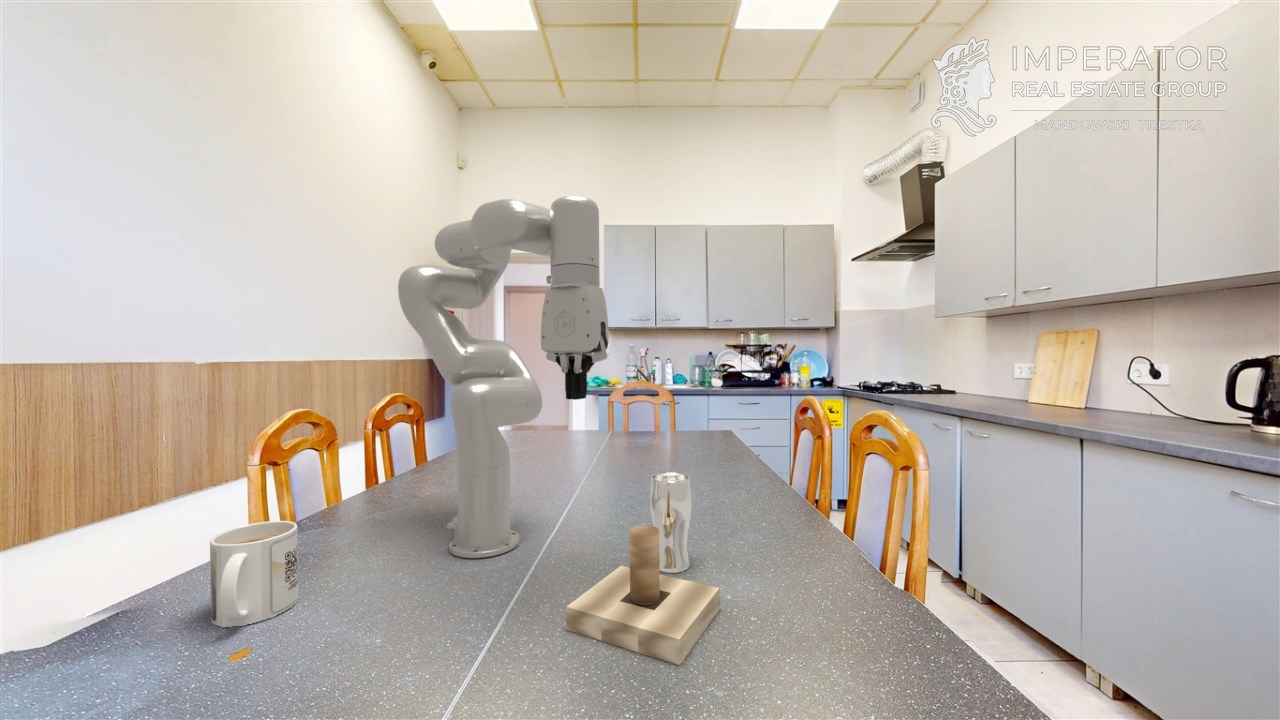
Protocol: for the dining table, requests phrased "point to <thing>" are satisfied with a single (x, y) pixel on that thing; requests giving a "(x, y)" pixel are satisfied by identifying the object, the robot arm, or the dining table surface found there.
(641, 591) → the peg
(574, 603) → the board
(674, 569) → the beer glass
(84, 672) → the dining table surface
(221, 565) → the mug
